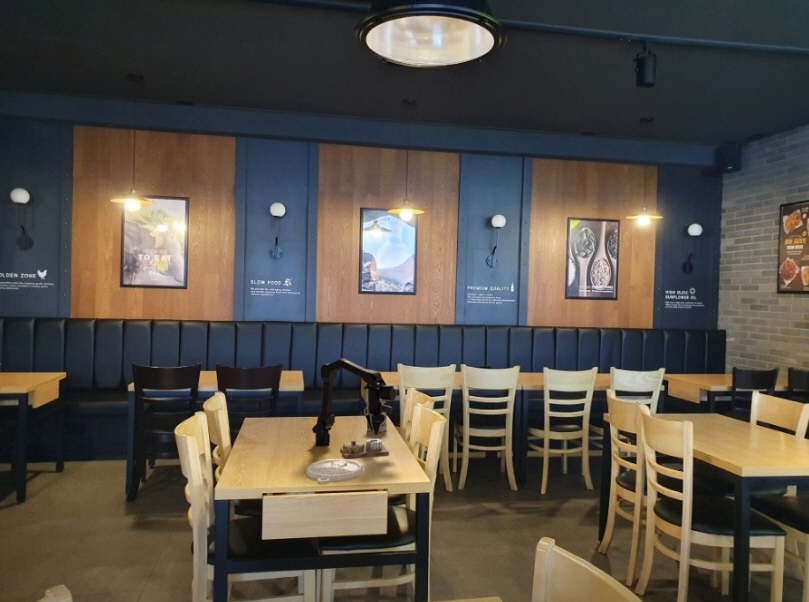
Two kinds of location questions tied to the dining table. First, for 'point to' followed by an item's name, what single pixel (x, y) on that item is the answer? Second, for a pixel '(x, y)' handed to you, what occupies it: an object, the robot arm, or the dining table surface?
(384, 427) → the coffee box
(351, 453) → the gear board
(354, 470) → the medallion
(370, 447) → the steel gear
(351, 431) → the dining table surface
